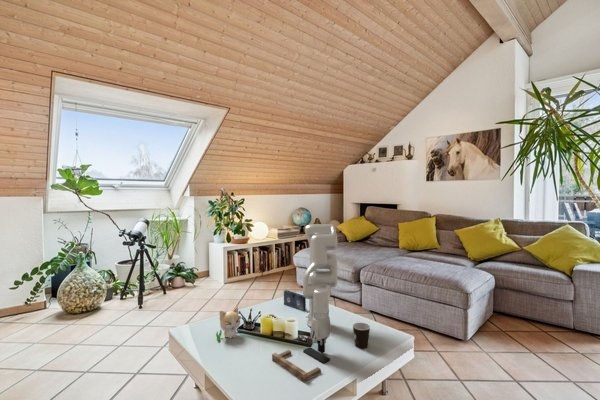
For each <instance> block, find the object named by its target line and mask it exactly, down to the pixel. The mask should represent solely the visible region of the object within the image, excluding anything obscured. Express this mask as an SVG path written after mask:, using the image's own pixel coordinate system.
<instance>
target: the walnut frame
mask: <svg viewBox="0 0 600 400" xmlns="http://www.w3.org/2000/svg"><path fill="white" fill-rule="evenodd" d="M291 355H292V351H291V350H289V349H287V350H285V351H283V352H281V353H279V354H278V353H277V352H274V353H272V354H271V356H272V357H271V360H272V362H274V363H275V364H277V365H278V366H279V367H281V368H283V369H284V370H286V371H287V372H289V373H290V374H292V375H293V376H294V377H295V378H298V379H299V380H300V381H302V382H303V383H305V382H307V381H309V380H310V379H312V378H314V377H315V376H317V375H319V374H321V372H322V370H321V368H320V367H318V366H317V367H316V368H313V369H311V370H310V371H307V372H306V371H305V370H304V369H302V368H300V367H299V366H297V365H296V364H294V363H293V362H291V361H289V360H288V359H286V357H289V356H291Z"/></svg>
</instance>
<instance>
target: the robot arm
mask: <svg viewBox="0 0 600 400" xmlns="http://www.w3.org/2000/svg"><path fill="white" fill-rule="evenodd" d="M304 229H305V230H304V232H305V233H304V234H305V237H306V239H307V241H308V244H309V266H308V267H307V268H306V270H305V272H304V274H303V279H302V293H303V294H302V295H304V297H305V298H306V299H307V300H309V301H308V306H309V307H308V309H309V312H307V314H306V315H305V318H307V319H308V320H306V325H307V327H309V328H310V338H311V339H312V343H313V344H317V351H318V352H320V353H321V354H323V353H326V343H327V339H328V338H329V337H330V335H331V334H332V333H331V331H332V329H331V328H332V327H331V319H330V300H329V299H330V297H331V295H332V288H335V287H337V285H338V259H337V255H336V254H335V253H333V252H327V251H329V250H337V248H338V242H339V241H338V235H337V230H336V227H335V225H334V224H331V223H330V224H329V223H312V224H311V223H310V224H308V225H306V226H305V228H304ZM306 299H305V300H306Z"/></svg>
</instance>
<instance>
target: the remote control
mask: <svg viewBox="0 0 600 400" xmlns="http://www.w3.org/2000/svg"><path fill="white" fill-rule="evenodd" d="M302 352H303V353H304V354H305V355H307V356H309V357H310V358H312V359H314V360H315V361H317V362H319V363H321V364H322V365H326V364H327V363H330V362H331V358H330V357H329V356H327V355H325V354H323V353H321V352H319V351H318V350H316V349H314V348H313V347H307V348H305V349H303V351H302Z"/></svg>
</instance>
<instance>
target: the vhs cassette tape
mask: <svg viewBox="0 0 600 400" xmlns="http://www.w3.org/2000/svg"><path fill="white" fill-rule="evenodd" d="M283 305H284V306H286V307H290V308H292V309H295V310H298V311H300V312H305V311H306V310H307V309H306V307H307V306H306V298H305V297H304V295H303V294H301V293H297V292H294V291H290V290H288V289H285V290H283Z"/></svg>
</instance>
